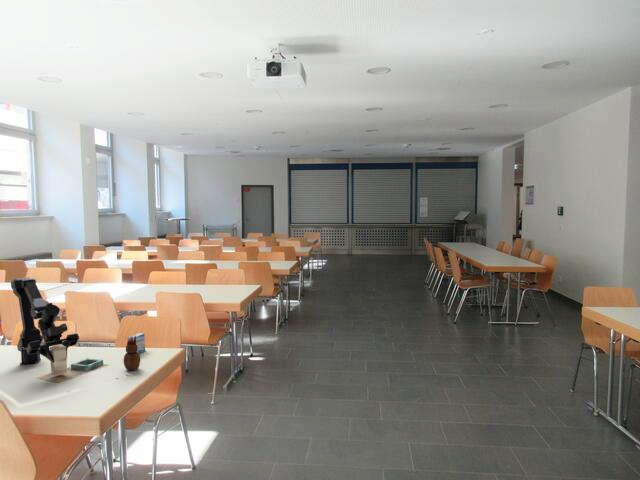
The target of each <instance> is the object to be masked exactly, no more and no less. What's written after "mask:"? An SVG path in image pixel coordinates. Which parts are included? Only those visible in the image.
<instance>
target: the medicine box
mask: <svg viewBox="0 0 640 480" xmlns="http://www.w3.org/2000/svg"><path fill="white" fill-rule="evenodd" d="M135 335H136V345H137V348H138V349H137V353H139V354H141V353H144V351H146V337H145V335H146V334H145V333H144V332H143V333H142V332H141V333H135V334H132V335H130V336H128V337H127V342H128V341H129V339H130V340H131V337H133V341H134V337H135Z"/></svg>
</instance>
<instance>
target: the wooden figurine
mask: <svg viewBox="0 0 640 480" xmlns="http://www.w3.org/2000/svg"><path fill="white" fill-rule="evenodd" d="M134 335H135V334H134ZM126 342H127V343H126V347H125V352H126V353H125V354H124V356H123V366H124V368H125V370H127V371H129V372H131V371H132V372H133V371H137V370H138V369H139V367H140V365H141V355H140V353H137V349H138V348H137V345H136V335H135V337H134V341H133V337H131V340H130V339H129V341H128V340H127V341H126Z"/></svg>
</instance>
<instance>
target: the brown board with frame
mask: <svg viewBox="0 0 640 480" xmlns="http://www.w3.org/2000/svg"><path fill="white" fill-rule="evenodd" d="M107 366H109V364H106V363H105V364H104V359H96V358H95V359H94V358H84V359H82V360H79V361H76V362H74V363H71V364H70V366H67V373H65V374H61V375H57V376H55V375H53V374H51V372H50V373H46V374H44V375H41V376H38V377H36V379H38V380H41V381H42V380H43V381H47V382H51V383H57V384H60V383H62V382H65V381H68V380H71V379H74V378H77V377H79V376H82V375H86V374H88V373H91V372H93V371H96V370H99V369H102V368H105V367H107Z"/></svg>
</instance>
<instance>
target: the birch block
mask: <svg viewBox="0 0 640 480" xmlns="http://www.w3.org/2000/svg"><path fill="white" fill-rule="evenodd" d="M49 349H50V352H51V354H52V356H53V359H54V362H53V363H52V362H51V361H50V373H51V374H53V375H55V376H57V375H61V374H65V373H67V368H68V364H67V361H68V360H67V359H68V358H67V359H66V346H63V345H61V344H59V345H54V346H50V347H49Z"/></svg>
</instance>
